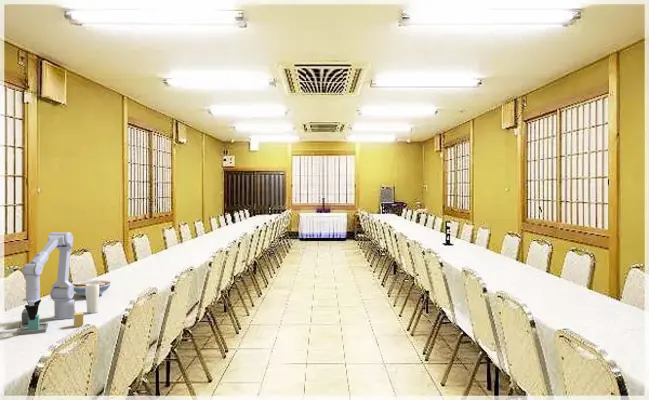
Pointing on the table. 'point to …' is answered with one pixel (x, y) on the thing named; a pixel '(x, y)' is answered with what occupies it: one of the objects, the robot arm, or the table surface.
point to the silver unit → (24, 318)
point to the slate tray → (25, 330)
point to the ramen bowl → (80, 286)
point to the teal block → (33, 323)
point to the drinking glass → (92, 297)
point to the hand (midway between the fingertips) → (33, 317)
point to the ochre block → (78, 319)
